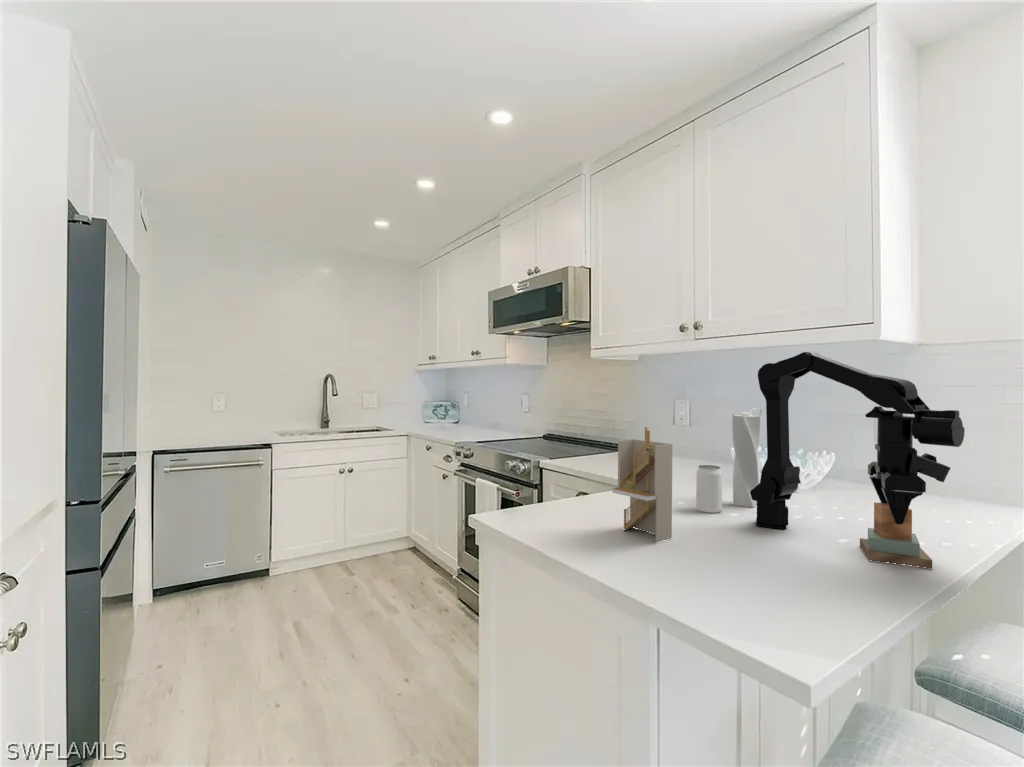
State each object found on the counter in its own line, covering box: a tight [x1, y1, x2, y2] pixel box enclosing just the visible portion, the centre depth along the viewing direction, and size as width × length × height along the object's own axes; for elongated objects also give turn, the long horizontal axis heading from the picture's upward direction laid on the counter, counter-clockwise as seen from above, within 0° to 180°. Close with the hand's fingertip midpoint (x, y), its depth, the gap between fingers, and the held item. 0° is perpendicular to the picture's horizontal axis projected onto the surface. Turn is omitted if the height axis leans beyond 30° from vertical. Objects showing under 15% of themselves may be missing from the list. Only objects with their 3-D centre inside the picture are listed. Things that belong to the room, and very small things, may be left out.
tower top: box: [867, 527, 921, 557], centre depth 104 cm, size 8×8×2 cm
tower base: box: [859, 537, 933, 569], centre depth 103 cm, size 10×10×2 cm
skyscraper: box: [731, 406, 763, 509], centre depth 146 cm, size 8×8×28 cm
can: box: [695, 464, 723, 514], centre depth 139 cm, size 6×6×12 cm
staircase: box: [612, 426, 673, 543], centre depth 116 cm, size 8×12×26 cm
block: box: [873, 502, 913, 541], centre depth 103 cm, size 5×5×6 cm
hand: (893, 518), depth 103 cm, fingers open, 9 cm apart
